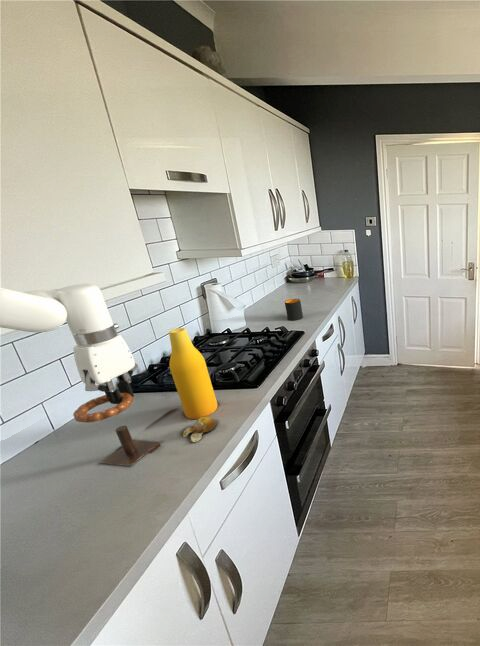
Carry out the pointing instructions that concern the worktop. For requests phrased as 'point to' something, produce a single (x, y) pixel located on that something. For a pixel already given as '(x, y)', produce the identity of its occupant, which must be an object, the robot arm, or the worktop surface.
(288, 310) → the mug
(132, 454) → the brown peg stand
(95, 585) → the worktop surface
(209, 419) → the fruit
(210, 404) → the beer bottle
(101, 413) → the ring
